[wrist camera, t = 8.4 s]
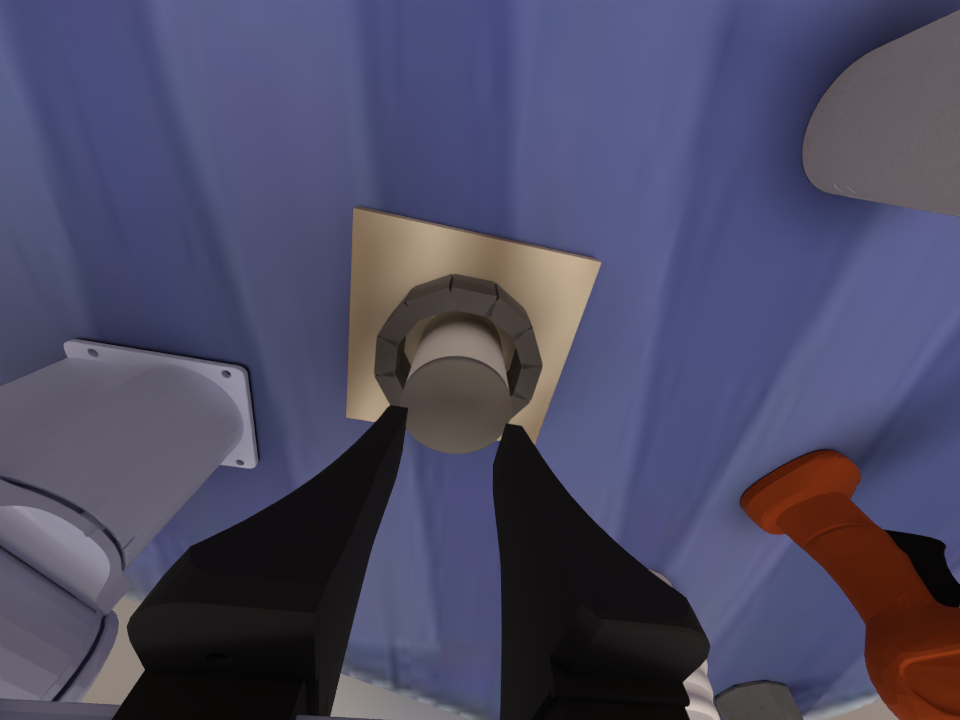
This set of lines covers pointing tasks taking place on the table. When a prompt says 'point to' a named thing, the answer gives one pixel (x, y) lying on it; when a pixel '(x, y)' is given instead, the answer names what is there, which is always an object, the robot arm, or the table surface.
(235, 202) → the table surface
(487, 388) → the grey cylinder
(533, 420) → the square plate with ring
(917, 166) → the dixie cup
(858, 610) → the toy drill
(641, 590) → the robot arm
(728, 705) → the coffeepot
